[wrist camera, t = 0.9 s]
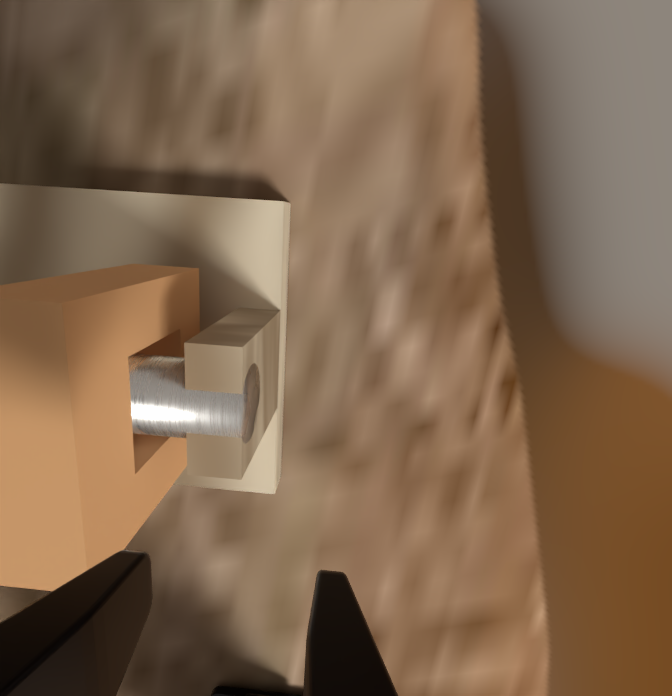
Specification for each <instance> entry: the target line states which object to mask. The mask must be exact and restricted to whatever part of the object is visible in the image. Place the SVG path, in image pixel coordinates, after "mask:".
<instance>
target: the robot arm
mask: <svg viewBox="0 0 672 696" xmlns="http://www.w3.org/2000/svg"><path fill="white" fill-rule="evenodd" d="M151 604H152V577H151V560H150V556H149V555H148V553H146V552H142V551H132V550H121V551H119V552H117V553H115V554H113V555H112V556H110V557H108V558H107V559H105V560H103V561H102V562H100V563H98V564H97V565H95V566H93V567H92V568H90V569H88V570H87V571H85V572H83V573H82V574H80V575H78V576H77V577H75V578H73V579H72V580H70V581H68V582H67V583H65V584H63V585H62V586H60V587H59V588H57V589H55V590H54V591H52V592H50V593H49V594H47V595H45V596H44V597H42V598H40V599H39V600H37V601H35V602H34V603H32V604H30V605H29V606H27V607H25V608H24V609H22V610H20V611H19V612H17V613H15V614H14V615H12V616H10V617H9V618H7V619H5V620H4V621H2V622H1V623H0V696H116V694H117V692H118V689H119V687H120V684H121V682H122V680H123V677H124V675H125V672H126V670H127V667H128V665H129V662H130V660H131V657H132V655H133V652H134V650H135V647H136V645H137V642H138V640H139V637H140V635H141V632H142V630H143V627H144V625H145V622H146V620H147V617H148V615H149V612H150V608H151ZM211 696H301V695H292V694H283V693H275V692H266V691H257V690H249V689H240V688H232V687H223V686H218V687H216V688H214V689H213V691H212V694H211ZM303 696H398V694H397V692H396V690H395V687H394V685H393V683H392V680H391V678H390V676H389V673H388V671H387V669H386V666H385V664H384V662H383V659H382V657H381V655H380V653H379V650H378V648H377V646H376V643H375V641H374V639H373V636H372V634H371V632H370V629H369V627H368V625H367V622H366V620H365V618H364V615H363V613H362V611H361V608H360V606H359V604H358V601H357V599H356V597H355V594H354V592H353V590H352V588H351V585H350V583H349V581H348V578H347V576H346V575H345V574H344V573H343V572H337V571H327V570H320V571H319V572H318V573H317V577H316V583H315V589H314V595H313V601H312V607H311V613H310V619H309V625H308V632H307V640H306V656H305V673H304V690H303Z"/></svg>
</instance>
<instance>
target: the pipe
mask: <svg viewBox="0 0 672 696" xmlns="http://www.w3.org/2000/svg"><path fill="white" fill-rule="evenodd" d="M128 360H129V377H130V395H131V412H132V429H133V434H144V435H155V436H167V437H178V438H186V433H193V434H205V435H216V436H227V437H238V438H242V440H243V442H244V443H245V444H246V443H248V442H249V441H250V439H251V437H252V434H253V431H254V428H253V426H254V421H255V415H256V411H257V406H258V405H259V397H260V376H259V370H258V367H257V365H256V364H255V363H253V364H252V365H251V366H250V368H249V370H248V372H247V375H246V379H245V383H244V387H243V392H242V394H234V393H222V392H210V391H198V390H187V389H185V357H173V356H160V355H148V354H133V355H131V356H129V357H128ZM258 407H259V406H258ZM256 420H257V419H256ZM255 424H256V423H255ZM254 427H255V426H254Z"/></svg>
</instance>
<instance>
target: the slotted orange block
mask: <svg viewBox="0 0 672 696" xmlns="http://www.w3.org/2000/svg"><path fill="white" fill-rule="evenodd" d="M198 333H200V305H199V268H187V267H173V266H159V265H145V264H128V265H122V266H116V267H110V268H104V269H97V270H91V271H85V272H79V273H73V274H67V275H61V276H54V277H48V278H42V279H36V280H30V281H24V282H18V283H11V284H5V285H0V586H9V587H18V588H27V589H37V590H46V591H54V590H55V589H57V588H59V587H60V586H62V585H63V584H65V583H67V582H68V581H70V580H72V579H73V578H75V577H77V576H78V575H80V574H82V573H83V572H85V571H87V570H88V569H90V568H92V567H93V566H95V565H97V564H98V563H100V562H102V561H103V560H105V559H107V558H108V557H110V556H112V555H113V554H115V553H117V552H119V551H121V550H124V549H125V547H126V546H127V545H128V543H129V542H130V541H131V539H132V538H133V537H134V535H135V534H136V533H137V531H138V530H139V529H140V527H141V526H142V525H143V523H144V522H145V521H146V519H147V518H148V517H149V515H150V514H151V513H152V512H153V510H154V509H155V508H156V506H157V505H158V504H159V502H160V501H161V500H162V498H163V497H164V496H165V494H166V493H167V492H168V490H169V489H170V488H171V486H172V485H173V484H174V482H175V481H176V480H177V478H178V477H179V476H180V474H181V473H182V472H183V470H184V469H185V468H186V466H187V438H178V437H167V436H155V435H144V434H133V429H132V412H131V395H130V377H129V360H128V357H129V356H131V355H133V354H148V355H160V356H173V357H185V356H184V342H186V341H188V340H189V339H191V338H192V337H194V336H195V335H197V334H198Z"/></svg>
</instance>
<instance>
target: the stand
mask: <svg viewBox="0 0 672 696" xmlns="http://www.w3.org/2000/svg"><path fill="white" fill-rule="evenodd" d="M290 209H291V203H288V202H285V201H271V200H255V199H239V198H224V197H208V196H192V195H176V194H161V193H145V192H129V191H113V190H98V189H82V188H66V187H50V186H35V185H19V184H3V183H0V285H5V284H11V283H18V282H24V281H30V280H36V279H42V278H48V277H54V276H61V275H67V274H73V273H79V272H85V271H91V270H97V269H104V268H110V267H116V266H122V265H128V264H145V265H159V266H173V267H187V268H199V305H200V333H198V334H197V335H195V336H194V337H192V338H191V339H189V340H188V341H186V342H184V356H185V389H187V390H198V391H210V392H222V393H234V394H242V392H243V387H244V383H245V379H246V375H247V372H248V370H249V368H250V366H251V365H252V364H253V363H255V364H256V365H257V367H258V370H259V376H260V397H259V405H258V406H259V407H258V406H257V411H256V415H255V421H254V426H255V427H254V426H253V428H254V431H253V434H252V437H251V439H250V441H249V442H248V443H246V444H245V443H244V442H243V440H242V438H238V437H227V436H216V435H205V434H193V433H186V438H187V466H186V468H185V469H184V470H183V472H182V473H181V474H180V476H179V477H178V478H177V480H176V481H175V482H174V484H173V485H184V486H194V487H205V488H215V489H226V490H236V491H247V492H257V493H268V494H275V492H276V489H277V486H278V483H279V480H280V477H281V462H282V434H283V406H284V378H285V350H286V322H287V294H288V265H289V237H290ZM256 419H257V420H256ZM255 423H256V424H255Z"/></svg>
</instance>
